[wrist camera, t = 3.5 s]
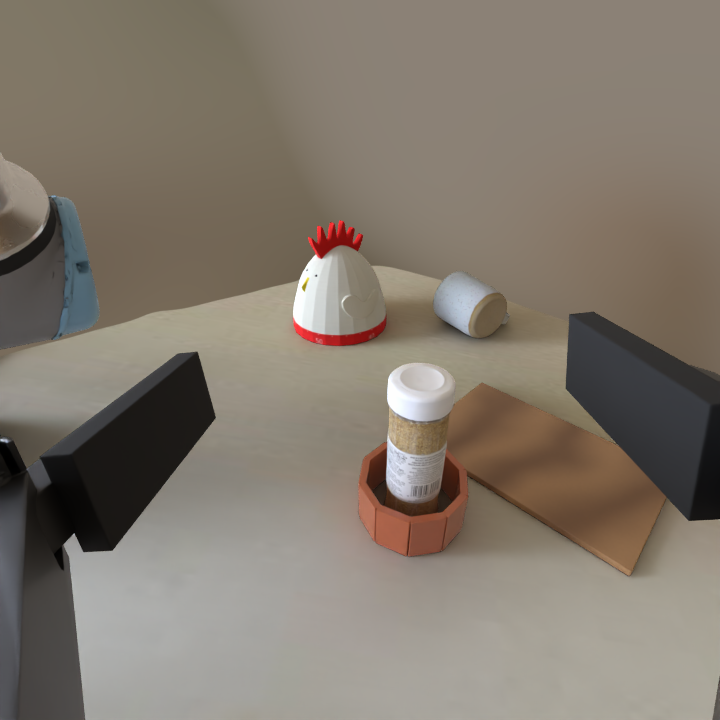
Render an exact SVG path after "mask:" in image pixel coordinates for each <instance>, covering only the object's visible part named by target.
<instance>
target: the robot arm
mask: <svg viewBox="0 0 720 720" xmlns="http://www.w3.org/2000/svg"><path fill="white" fill-rule="evenodd" d="M98 318H99V304H98V298H97V293H96V289H95V284H94V279H93V275H92V271H91V268H90V265H89V259H88V255H87V249H86V245H85V241H84V237H83V233H82V229H81V225H80V222H79V218H78V214H77V211H76V208H75V205H74V204H73V202H72V201H71V200H70V199H68V198H64V197H57V196H55V195H52V196H48V195H47V193H46V191H45V190H44V188H43V187H42V185H41V184H40V182H39V181H38V179H36V178H35V177H34V176H33V175H32V174H31V173H29V172H28V171H26V170H24V169H23V168H21V167H19V166H18V165H16V164H14V163H11V162H9V161H6V160H4V158H3V156H2V155H1V152H0V349H6V348H11V347H16V346H20V345H25V344H30V343H35V342H40V341H45V340H50V339H52V340H55V339H58V338H60V337H61V336H62V335H66V334H69V333H73V332H77V331H81V330H85V329H88V328H90V327H91V326H93V325H94V324H95V323H96V322H97V320H98ZM566 389H567V391H568V392H569V393H570V394H571V395H572V396H573V397H574V398H575V399H576V400H577V401H578V402H579V403H580V405H581V406H582V407H583V408H584V409H585V410H586V411H587V412H588V413H589V414H590V415H591V416H592V417H593V419H594V420H595V421H596V422H597V423H598V424H599V425H600V426H601V427H602V428H603V429H604V430H605V431H606V432H607V434H608V435H609V436H610V437H611V438H612V439H613V440H614V441H615V442H616V443H617V444H618V445H619V446H620V448H621V449H622V450H623V451H624V452H625V453H626V454H627V455H628V456H629V457H630V458H631V459H632V460H633V462H634V463H635V464H636V465H637V466H638V467H639V468H640V469H641V470H642V471H643V472H644V473H645V474H646V475H647V477H648V478H649V479H650V480H651V481H652V482H653V483H654V484H655V485H656V486H657V487H658V488H659V489H660V491H661V492H662V493H663V494H664V495H665V496H666V497H667V498H668V499H669V500H670V501H671V502H672V503H673V505H674V506H675V507H676V508H677V509H678V510H679V511H680V512H681V513H682V514H683V515H684V516H685V517H686V518H687V520H688V521H696V520H715V519H720V375H718V374H716V373H714V372H711V371H708V370H705V369H702V368H698V367H695V366H692V365H688V364H686V363H684V362H682V361H681V360H679V359H677V358H675V357H674V356H672V355H670V354H668V353H666V352H665V351H663V350H661V349H659V348H657V347H655V346H654V345H652V344H650V343H648V342H647V341H645V340H643V339H641V338H639V337H638V336H636V335H634V334H632V333H630V332H629V331H627V330H625V329H623V328H621V327H620V326H618V325H616V324H614V323H612V322H611V321H609V320H607V319H605V318H604V317H602V316H600V315H598V314H596V313H595V312H588V313H578V314H570V315H569V334H568V353H567V372H566ZM215 418H216V416H215V413H214V409H213V406H212V402H211V398H210V395H209V391H208V388H207V384H206V380H205V377H204V373H203V370H202V366H201V362H200V359H199V355H198V352H190V353H180V354H177V355H175V356H174V357H173V358H171V359H170V360H169V361H167V362H166V363H165V364H163V365H162V366H161V367H159V368H158V369H157V370H155V371H154V372H153V373H151V374H150V375H149V376H147V377H146V378H145V379H143V380H142V381H141V382H139V383H138V384H137V385H135V386H134V387H133V388H131V389H130V390H129V391H127V392H126V393H124V394H123V395H122V396H120V397H119V398H118V399H116V400H115V401H114V402H112V403H111V404H110V405H108V406H107V407H106V408H104V409H103V410H102V411H100V412H99V413H98V414H96V415H95V416H94V417H92V418H91V419H90V420H88V421H87V422H86V423H84V424H83V425H82V426H80V427H79V428H78V429H76V430H75V431H73V432H72V433H71V434H69V435H68V436H67V437H65V438H64V439H63V440H61V441H60V442H59V443H57V444H56V445H55V446H53V447H52V448H51V449H49V450H48V451H47V452H45V453H44V454H43V455H41V456H40V459H39V460H38V461H36V462H35V463H34V464H32V465H31V466H30V467H28V468H26V466H25V464H24V462H23V460H22V458H21V456H20V454H19V452H18V450H17V447H16V445H15V443H14V441H13V440H12V438H10V437H1V434H0V720H85V713H84V703H83V693H82V683H81V673H80V663H79V653H78V643H77V633H76V623H75V613H74V603H73V593H72V583H71V573H70V563H69V556H68V554H67V552H66V550H65V548H64V546H63V544H64V543H65V542H66V541H67V540H68V539H69V538H70V537H71V536H72V535H73V534H74V533H75V535H76V537H77V539H78V542H79V544H80V546H81V548H82V550H83V552H94V551H112V550H113V549H114V548H115V547H116V545H117V544H118V543H119V541H120V540H121V539H122V538H123V536H124V535H125V534H126V532H127V531H128V530H129V529H130V527H131V526H132V525H133V523H134V522H135V521H136V520H137V518H138V517H139V516H140V515H141V513H142V512H143V511H144V509H145V508H146V507H147V506H148V504H149V503H150V502H151V500H152V499H153V498H154V497H155V495H156V494H157V493H158V491H159V490H160V489H161V488H162V486H163V485H164V484H165V482H166V481H167V480H168V479H169V477H170V476H171V475H172V473H173V472H174V471H175V470H176V468H177V467H178V466H179V464H180V463H181V462H182V461H183V459H184V458H185V457H186V456H187V454H188V453H189V452H190V450H191V449H192V448H193V447H194V445H195V444H196V443H197V441H198V440H199V439H200V438H201V436H202V435H203V434H204V432H205V431H206V430H207V429H208V427H209V426H210V425H211V423H212V422H213V421H214V420H215ZM713 720H720V678H719V684H718V690H717V696H716V702H715V708H714V714H713Z"/></svg>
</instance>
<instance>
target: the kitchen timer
mask: <svg viewBox="0 0 720 720" xmlns="http://www.w3.org/2000/svg"><path fill="white" fill-rule="evenodd" d="M317 232H318V233H317V236H318V242H317V243H316V242H315V241H314V240H313V239H311V238H310V237H308V239H309V242H310V244H311V246H312V248H313V250H314V251H315V253H316V255H315V256H314V257H313V258H312V260H311V261H310V262H309V263H308V265H307V266H306V268H305V270H304V272H303V274H302V276H301V278H300V281H299V285H298V289H297V293H296V298H295V302H294V309H293V320H294V327H295V329H296V332H297V333H298V334H299V335H300V336H302V337H303V338H305V339H307V340H309V341H311V342H314V343H319V344H323V345H335V346H342V345H353V344H358V343H362V342H365V341H368V340H370V339H372V338H374V337H377V336H378V335H379V334H380V333H381V332H382V331H383V330H384V328H385V326H386V307H385V302H384V297H383V293H382V290H381V287H380V284H379V280H378V278H377V276H376V274H375V272H374V270H373V268H372V267H371V265H370V264H369V263H368V261H367V260H366V259H365V258H364V257H363V256H362V255H361V254H360V253H359V252H358V250H359V247H360V245H361V241H362V238H363V235H362V234H358V235H357V237H356V239H355V241H354V243H353V236H354V228H352V227H349V229H348V231H347V233H346V230H345V224H344V222H343V221H341V220H340V221H339V225H338V231H337V235H336V229H335V224H334V223H331V222H330V226H329V231H328V238H327V239H326V236H325V233H324V230H323V228H322V227H320V226H318V228H317Z"/></svg>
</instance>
